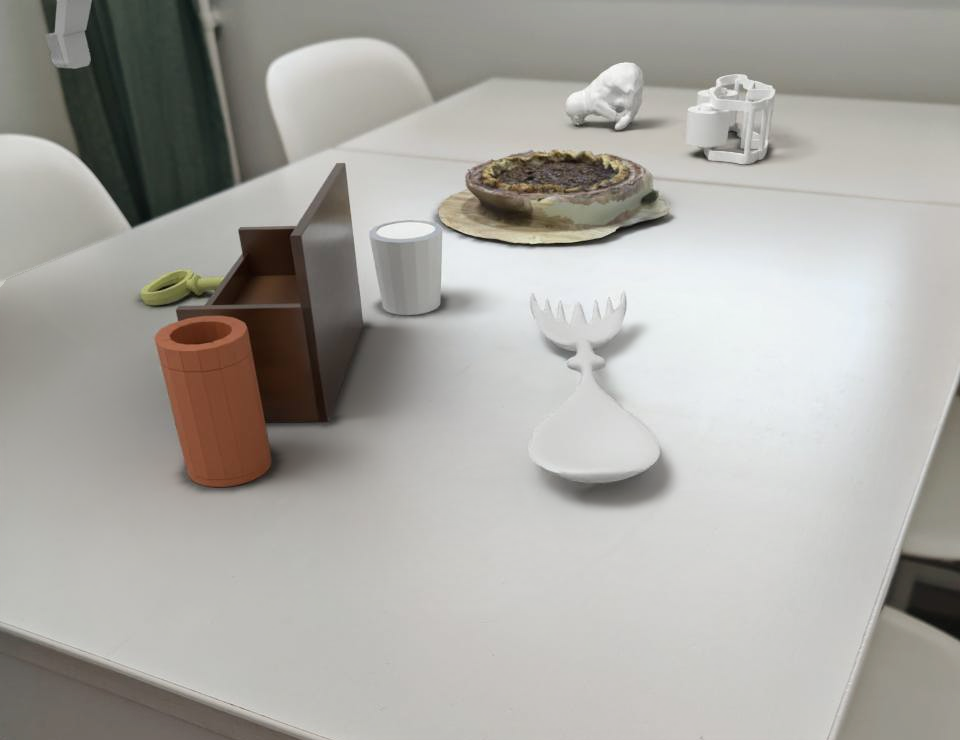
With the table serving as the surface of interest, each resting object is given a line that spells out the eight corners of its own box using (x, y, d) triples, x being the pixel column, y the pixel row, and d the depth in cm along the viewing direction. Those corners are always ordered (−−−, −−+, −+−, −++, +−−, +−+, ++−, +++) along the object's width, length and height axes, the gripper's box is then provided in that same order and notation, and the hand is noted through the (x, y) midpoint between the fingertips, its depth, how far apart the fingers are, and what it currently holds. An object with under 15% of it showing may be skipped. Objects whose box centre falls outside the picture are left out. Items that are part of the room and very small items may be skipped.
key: (263, 298, 100) (259, 276, 98) (138, 308, 99) (132, 286, 98) (267, 274, 105) (263, 253, 104) (149, 284, 104) (143, 263, 103)
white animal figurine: (637, 65, 145) (557, 72, 149) (639, 130, 150) (562, 135, 154) (646, 57, 149) (568, 65, 153) (647, 120, 154) (572, 126, 158)
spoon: (626, 323, 91) (628, 285, 89) (665, 505, 66) (669, 458, 64) (527, 326, 91) (527, 288, 89) (528, 507, 66) (528, 460, 64)
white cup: (362, 304, 97) (353, 230, 93) (418, 287, 101) (412, 214, 96) (404, 323, 93) (397, 246, 89) (461, 304, 96) (457, 228, 92)
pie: (532, 262, 105) (532, 212, 102) (394, 208, 123) (390, 165, 120) (719, 209, 118) (724, 163, 115) (569, 167, 135) (569, 127, 132)
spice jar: (177, 487, 70) (142, 350, 64) (200, 447, 75) (169, 316, 69) (261, 487, 70) (234, 349, 64) (279, 446, 75) (255, 314, 68)
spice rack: (201, 423, 78) (159, 238, 69) (257, 326, 94) (229, 165, 85) (327, 421, 78) (301, 235, 69) (363, 324, 93) (345, 162, 84)
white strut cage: (697, 129, 150) (702, 73, 146) (773, 131, 147) (780, 74, 143) (679, 162, 135) (684, 102, 131) (763, 165, 133) (771, 103, 128)
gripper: (-253, -225, 54) (-146, 65, 63) (30, -250, 47) (106, 80, 56) (-153, -221, 59) (-66, 49, 68) (119, -244, 52) (177, 61, 60)
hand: (14, 63), depth 62 cm, fingers open, 8 cm apart
